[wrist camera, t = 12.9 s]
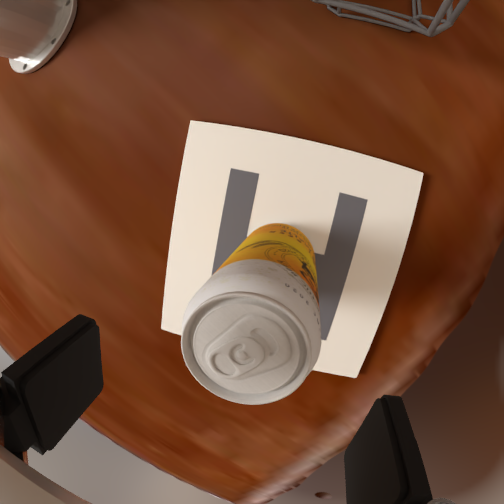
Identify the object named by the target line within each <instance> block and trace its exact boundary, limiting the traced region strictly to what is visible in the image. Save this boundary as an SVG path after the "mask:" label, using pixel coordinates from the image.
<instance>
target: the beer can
mask: <svg viewBox="0 0 504 504" xmlns="http://www.w3.org/2000/svg"><path fill="white" fill-rule="evenodd" d="M181 348H182V354H183V358H184V360H185V363H186V365H187V367H188V369H189V370H190V372H191V373H192V375H193V376H194V377H195V378H196V380H197V381H198V382H199V383H200V384H201V385H202V386H204V387H205V388H206V389H207V390H209V391H210V392H212V393H214V394H215V395H217V396H219V397H221V398H224V399H226V400H229V401H232V402H236V403H241V404H251V405H255V404H266V403H271V402H274V401H277V400H280V399H282V398H284V397H286V396H288V395H289V394H291V393H292V392H294V391H295V390H296V389H297V388H298V387H299V386H300V385H301V384H302V382H303V381H304V380H305V378H306V376H307V375H308V374H309V373H310V372H311V370H312V369H313V367H314V366H315V364H316V362H317V360H318V357H319V354H320V350H321V324H320V310H319V297H318V285H317V274H316V263H315V254H314V250H313V247H312V245H311V243H310V241H309V239H308V238H307V237H306V236H305V235H304V234H303V233H302V232H301V231H300V230H298V229H297V228H295V227H293V226H290V225H287V224H283V223H271V224H267V225H264V226H261V227H259V228H257V229H256V230H254V231H253V232H252V233H251V234H250V235H249V236H248V237H247V238H246V239H245V240H244V241H243V242H242V244H241V245H240V246H239V247H238V248H237V249H236V250H235V251H234V252H233V253H232V254H231V255H230V256H229V258H228V259H227V260H226V261H225V262H224V263H223V264H222V265H221V266H220V267H219V268H218V269H217V271H216V272H215V273H214V274H213V275H212V276H211V277H210V278H209V279H208V280H207V281H206V283H205V284H204V285H203V286H202V287H201V288H200V289H199V290H198V291H197V292H196V293H195V295H194V296H193V297H192V298H191V300H190V301H189V303H188V305H187V307H186V309H185V312H184V315H183V320H182V337H181Z"/></svg>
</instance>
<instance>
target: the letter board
mask: <svg viewBox="0 0 504 504" xmlns="http://www.w3.org/2000/svg"><path fill="white" fill-rule="evenodd" d="M423 174H424V173H422V172H419V171H416V170H413V169H410V168H407V167H404V166H401V165H398V164H394V163H391V162H388V161H385V160H381V159H378V158H375V157H371V156H368V155H364V154H360V153H357V152H353V151H349V150H346V149H342V148H338V147H334V146H330V145H326V144H322V143H317V142H313V141H309V140H304V139H300V138H295V137H290V136H285V135H280V134H275V133H270V132H265V131H259V130H253V129H248V128H242V127H235V126H229V125H222V124H215V123H207V122H200V121H190V126H189V131H188V136H187V141H186V146H185V152H184V157H183V162H182V168H181V174H180V180H179V185H178V192H177V198H176V204H175V211H174V218H173V225H172V232H171V239H170V247H169V255H168V263H167V272H166V281H165V291H164V301H163V313H162V325H161V329H163V330H166V331H169V332H172V333H175V334H179V335H182V320H183V315H184V312H185V309H186V307H187V305H188V303H189V301H190V300H191V298H192V297H193V296H194V295H195V293H196V292H197V291H198V290H199V289H200V288H201V287H202V286H203V285H204V284H205V283H206V281H207V280H208V279H209V278H210V277H211V276H212V275H213V274H214V273H215V272H216V271H217V269H218V268H219V267H220V266H221V265H222V264H223V263H224V262H225V261H226V260H227V259H228V258H229V256H230V255H231V254H232V253H233V252H234V251H235V250H236V249H237V248H238V247H239V246H240V245H241V244H242V242H243V241H244V240H245V239H246V238H247V237H248V236H249V235H250V234H251V233H252V232H253V231H254V230H256V229H257V228H259V227H261V226H264V225H267V224H271V223H283V224H287V225H290V226H293V227H295V228H297V229H298V230H300V231H301V232H302V233H303V234H304V235H305V236H306V237H307V238H308V239H309V241H310V243H311V245H312V247H313V250H314V254H315V263H316V274H317V285H318V297H319V310H320V324H321V350H320V354H319V357H318V360H317V362H316V364H315V366H314V367H313V369H312V370H316V371H321V372H326V373H331V374H337V375H342V376H347V377H353V378H356V377H357V375H358V373H359V371H360V368H361V366H362V364H363V362H364V359H365V357H366V355H367V352H368V350H369V348H370V345H371V343H372V341H373V338H374V336H375V333H376V331H377V328H378V325H379V323H380V320H381V318H382V315H383V312H384V310H385V307H386V304H387V301H388V299H389V296H390V293H391V290H392V287H393V284H394V281H395V278H396V275H397V272H398V269H399V266H400V263H401V260H402V256H403V253H404V250H405V246H406V243H407V239H408V236H409V232H410V228H411V225H412V221H413V217H414V213H415V209H416V205H417V201H418V197H419V192H420V188H421V183H422V179H423Z"/></svg>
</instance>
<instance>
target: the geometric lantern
mask: <svg viewBox="0 0 504 504" xmlns="http://www.w3.org/2000/svg"><path fill="white" fill-rule="evenodd" d="M312 1H313V2H315V3H320V4H325V5H327V9H329V10H330V11H332V12H333V13H335V14H336V15H338V16H339V17H347V18H352V19H357V20H362V21H366V22H371V23H375V24H379V25H383V26H387V27H391V28H395V29H398V30H402V31H405V32H410V31H412V30H413V31H416V32H419V33H421V34H424V35H426V36H429V37H433V36H435V35H437V34H439V33H441V32H443V31H444V30H446V29H448V28H450V27H451V26H452V25H453V24H454V22H455V21H456V19H457V18H458V16H459V15H460V13H461V12H462V11H463V9H464V8H465V6H466V5H467V3H468V2H469V1H470V0H460V2H459V3H458V5H457V6H456V8H455V9H454V11H453V7H452V2H453V0H444V1H443V3H442V5H441V6H440V8H439V10H438V12H437V14H436V15H435V17H432V16H427V15H422V8H421V0H417V7H418V15H417V16H416V1H415V0H412V10H413V17H411V16H407V15H404V14H400V13H397V12H393V11H389V10H385V9H381V8H377V7H373V6H368V5H364V4H359V3H353V2H348V1H342V0H312ZM331 6H334V7H337V10H335V9H334V8H332V7H331ZM341 8H343V9H347V10H351V11H355V12H358V13H362V14H365V15H369V16H372V17H376V18H379V19H382V20H385V21H388V22H391V23H394V24H397V25H400V26H397V25H393V24H390V23H386V22H382V21H378V20H374V19H369V18H365V17H360V16H355V15H350V14H344V13H341ZM373 10H374V11H373ZM376 11H379V12H376ZM380 12H383V13H387V14H391V15H394V16H398V17H402V18H405V19H409V22H406V21H403V20H401V19H398V18H395V17H392V16H389V15H386V14H383V13H380ZM446 12H447V20H445V19H443V17H444V15H445V14H446ZM420 18H424V19H428V20H433V21H432V23H431V24H430V26H429V28H428V29H427V28H426V27H425V26H423V25H422V24H421V23H420V22H419V20H420ZM440 22H441V23H443V24H441V25H440V26H438V25H439V23H440ZM417 25H418V26H417ZM401 26H403V27H401ZM404 27H405V28H404ZM407 28H408V29H407Z"/></svg>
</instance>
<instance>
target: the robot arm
mask: <svg viewBox="0 0 504 504" xmlns="http://www.w3.org/2000/svg"><path fill="white" fill-rule="evenodd" d="M76 10H77V0H0V56H1V57H6V58H9V61H10V65H11V67H12V69H13V70H14V71H16V72H18V73H23V74H27V73H31V72H34V71H36V70H37V69H39V68H40V67H42V66H43V65H44V64H45V63H46V62H47V61H48V60H49V59H50V58H51V57H52V56H53V55H54V54H55V53H56V51H57V50H58V49H59V47H60V46H61V44H62V43H63V41H64V40H65V38H66V36H67V35H68V33H69V31H70V29H71V26H72V24H73V22H74V19H75V15H76ZM1 373H2V377H1V378H0V504H91V503H89V502H87V501H85V500H83V499H82V498H80V497H78V496H76V495H74V494H73V493H71V492H69V491H67V490H66V489H64V488H62V487H61V486H59V485H58V484H56V483H54V482H53V481H51V480H50V479H48V478H46V477H45V476H43V475H42V474H40V473H39V472H37V471H36V470H35V469H33V468H31V467H30V466H29V465H28V458H27V450H28V449H29V448H30V447H31V448H33V449H34V450H36V451H37V452H39V453H40V454H42V455H43V454H44V453H45V452H46V451H47V450H52V449H53V448H54V447H55V446H56V445H57V443H58V442H59V441H60V440H61V439H62V437H63V436H64V435H65V434H66V433H67V431H68V430H69V429H70V428H71V426H72V425H73V424H74V423H75V422H76V421H77V420H78V418H79V417H80V416H81V415H82V414H83V412H84V411H85V410H86V409H87V408H88V407H89V405H90V404H91V403H92V402H93V401H94V399H95V398H96V397H97V396H98V395H99V394H100V392H101V391H102V389H103V374H102V363H101V350H100V333H99V327H98V326H97V325H96V322H95V320H94V319H91V318H89V317H86V316H84V315H82V314H79V315H77V316H76V317H74V318H73V319H72V320H70V321H69V322H67V323H66V324H65V325H63V326H62V327H61V328H59V329H58V330H57V331H55V332H54V333H52V334H51V335H50V336H48V337H47V338H46V339H44V340H43V341H42V342H40V343H39V344H38V345H36V346H35V347H34V348H32V349H31V350H30V351H28V352H27V353H26V354H25V355H23V356H22V357H21V358H19V359H18V360H17V361H15V362H14V363H13V364H12V365H10V366H9V367H8V368H7V369H5V370H4V371H3V372H1ZM344 462H345V479H346V498H347V504H455V503H454V502H452V501H451V500H448V499H445V498H437V499H432V494H431V490H430V486H429V483H428V479H427V475H426V472H425V468H424V465H423V461H422V458H421V454H420V451H419V448H418V444H417V441H416V439H415V437H414V433H413V430H412V427H411V424H410V421H409V418H408V416H407V412H406V409H405V406H404V403H403V401H402V398H401V397H400V396H391V395H383V396H382V397H381V399H380V398H378V399H376V401H375V402H374V404H373V406H372V408H371V409H370V411H369V413H368V415H367V416H366V418H365V420H364V421H363V423H362V425H361V426H360V428H359V430H358V431H357V433H356V435H355V436H354V438H353V439H352V441H351V443H350V444H349V446H348V447H347V449H346V451H345V455H344Z"/></svg>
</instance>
